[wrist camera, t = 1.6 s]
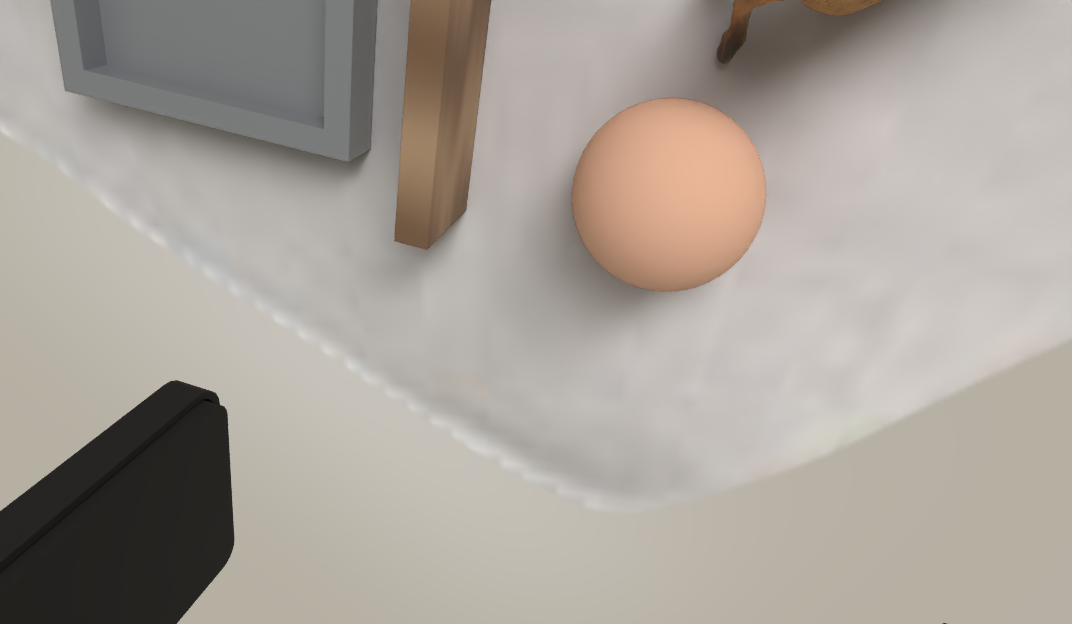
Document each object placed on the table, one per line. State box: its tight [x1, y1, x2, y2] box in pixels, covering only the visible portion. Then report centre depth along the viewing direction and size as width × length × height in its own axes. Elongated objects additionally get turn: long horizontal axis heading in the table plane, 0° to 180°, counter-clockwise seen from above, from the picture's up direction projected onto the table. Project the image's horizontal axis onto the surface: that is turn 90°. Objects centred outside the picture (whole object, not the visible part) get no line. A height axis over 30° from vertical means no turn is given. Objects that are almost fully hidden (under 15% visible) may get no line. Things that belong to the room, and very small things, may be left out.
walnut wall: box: [394, 0, 491, 250], centre depth 24 cm, size 13×1×4 cm, turn 171°
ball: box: [572, 98, 766, 291], centre depth 23 cm, size 6×6×6 cm
